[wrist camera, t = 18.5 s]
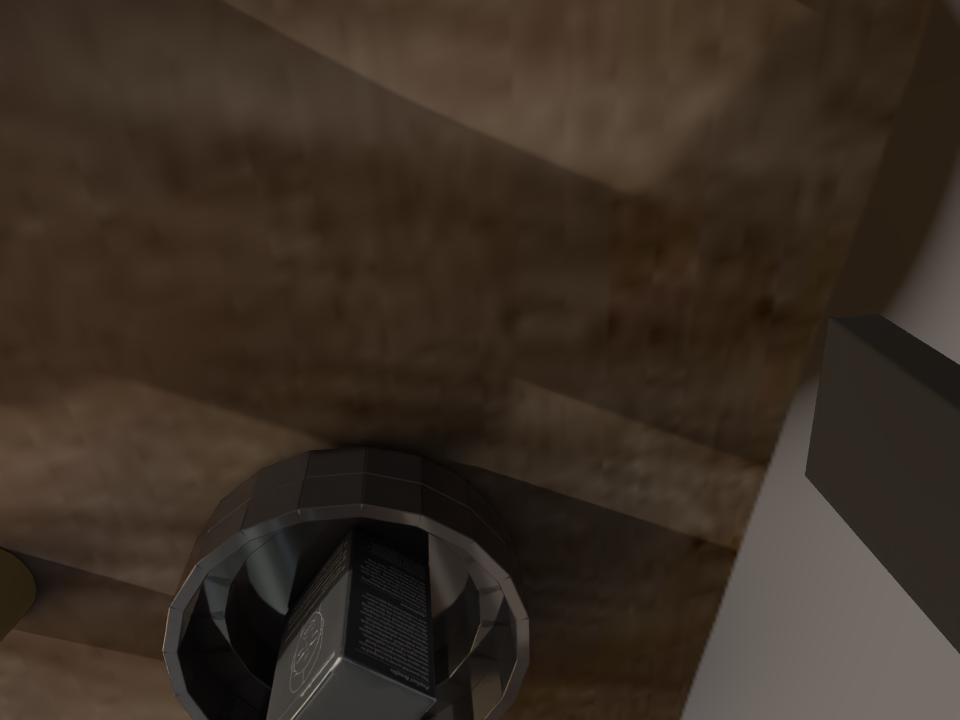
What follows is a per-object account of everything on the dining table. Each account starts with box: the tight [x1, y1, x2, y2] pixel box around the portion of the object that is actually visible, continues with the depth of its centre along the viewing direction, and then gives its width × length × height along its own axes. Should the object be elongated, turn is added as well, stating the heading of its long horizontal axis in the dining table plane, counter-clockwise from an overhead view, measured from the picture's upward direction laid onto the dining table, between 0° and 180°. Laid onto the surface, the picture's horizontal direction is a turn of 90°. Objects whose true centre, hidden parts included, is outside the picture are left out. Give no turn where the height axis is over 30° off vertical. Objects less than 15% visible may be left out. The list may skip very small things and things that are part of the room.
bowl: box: [162, 446, 531, 720], centre depth 45 cm, size 20×20×6 cm
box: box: [266, 527, 436, 720], centre depth 42 cm, size 8×6×11 cm
